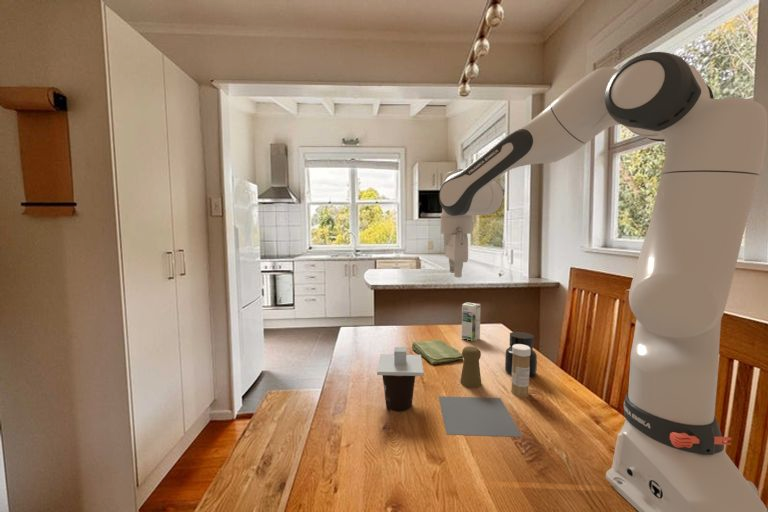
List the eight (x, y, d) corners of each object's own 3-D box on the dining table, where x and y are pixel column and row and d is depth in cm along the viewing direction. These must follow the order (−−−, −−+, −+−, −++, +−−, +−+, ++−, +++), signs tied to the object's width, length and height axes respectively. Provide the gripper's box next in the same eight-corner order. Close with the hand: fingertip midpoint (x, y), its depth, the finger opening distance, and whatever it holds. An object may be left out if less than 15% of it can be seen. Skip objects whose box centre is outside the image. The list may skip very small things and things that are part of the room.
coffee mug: (411, 419, 77) (411, 378, 76) (376, 412, 79) (376, 372, 79) (421, 395, 88) (422, 359, 87) (391, 390, 90) (391, 355, 90)
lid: (423, 375, 77) (423, 358, 77) (377, 375, 77) (377, 357, 77) (420, 357, 88) (420, 342, 87) (380, 357, 88) (380, 341, 88)
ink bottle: (542, 374, 100) (544, 336, 99) (528, 382, 95) (530, 342, 94) (512, 364, 108) (514, 328, 107) (498, 371, 102) (499, 334, 101)
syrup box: (460, 339, 132) (461, 304, 131) (467, 335, 137) (467, 301, 135) (474, 342, 128) (474, 306, 127) (480, 338, 133) (481, 303, 132)
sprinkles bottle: (511, 389, 90) (512, 342, 89) (529, 392, 89) (530, 344, 88) (510, 397, 86) (511, 348, 85) (529, 400, 84) (530, 350, 83)
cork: (482, 391, 90) (483, 352, 89) (460, 389, 91) (460, 350, 90) (480, 381, 96) (481, 344, 95) (459, 379, 97) (460, 343, 96)
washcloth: (431, 367, 106) (431, 357, 106) (409, 348, 123) (409, 340, 122) (466, 361, 111) (466, 352, 110) (440, 344, 127) (440, 336, 127)
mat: (522, 439, 69) (522, 437, 69) (446, 437, 70) (446, 434, 70) (500, 400, 85) (500, 398, 85) (438, 398, 86) (438, 396, 86)
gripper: (474, 227, 84) (473, 280, 85) (461, 227, 105) (460, 270, 106) (450, 227, 85) (449, 280, 86) (441, 227, 105) (440, 270, 106)
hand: (455, 274), depth 96 cm, fingers open, 8 cm apart
